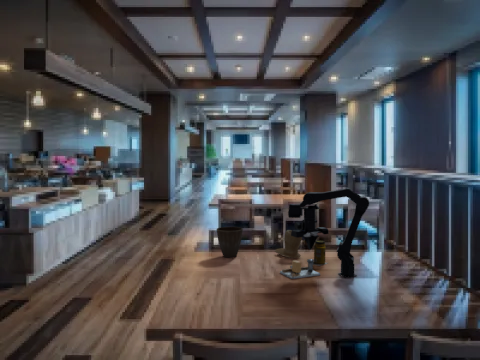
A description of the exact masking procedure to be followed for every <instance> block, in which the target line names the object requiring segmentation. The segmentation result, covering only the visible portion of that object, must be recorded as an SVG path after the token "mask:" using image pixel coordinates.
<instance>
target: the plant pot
mask: <svg viewBox="0 0 480 360" xmlns="http://www.w3.org/2000/svg"><path fill="white" fill-rule="evenodd" d="M216 234H217V235H216V236H217V240H218V245H219V248H220V250H221V253H222V256H223V258H227V259H232V258H236V257H237V256H238V253H239V249H240V246H241V242H242V237H243V228H242V227H238V226H223V227H221V226H220V227H218V228H216Z"/></svg>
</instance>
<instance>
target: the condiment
mask: <svg viewBox="0 0 480 360" xmlns="http://www.w3.org/2000/svg"><path fill="white" fill-rule="evenodd" d="M326 248H327V247H326V242H325V240H316V241H315V243H314V245H313V260H314V262H313V266H319V267H321V266H323V265H324V266H325V265H327V264H329V262H326V251H327V249H326Z"/></svg>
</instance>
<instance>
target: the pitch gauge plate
mask: <svg viewBox="0 0 480 360" xmlns="http://www.w3.org/2000/svg"><path fill="white" fill-rule="evenodd" d="M306 261H307V266H301V272H300V273H296V272H294V271H292V268H285V269H281V270H280V271H279V273H280V274H281V275H283V276H284V277H287V278H288V279H290V280H296V279H301V278H310V277H317V276H318V277H319V276H321V273H320V272H318V271H316V270H314V265H313V262H314V258H313V259H312V258H309V259H307V260H306Z"/></svg>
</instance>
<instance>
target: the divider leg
mask: <svg viewBox="0 0 480 360" xmlns="http://www.w3.org/2000/svg"><path fill="white" fill-rule="evenodd" d="M301 267H302V262H301V261H299V260H295V259H294V260H292V263H291V265H290V268H289V269H292V271H294V272H296V273H300V272H301Z"/></svg>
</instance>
